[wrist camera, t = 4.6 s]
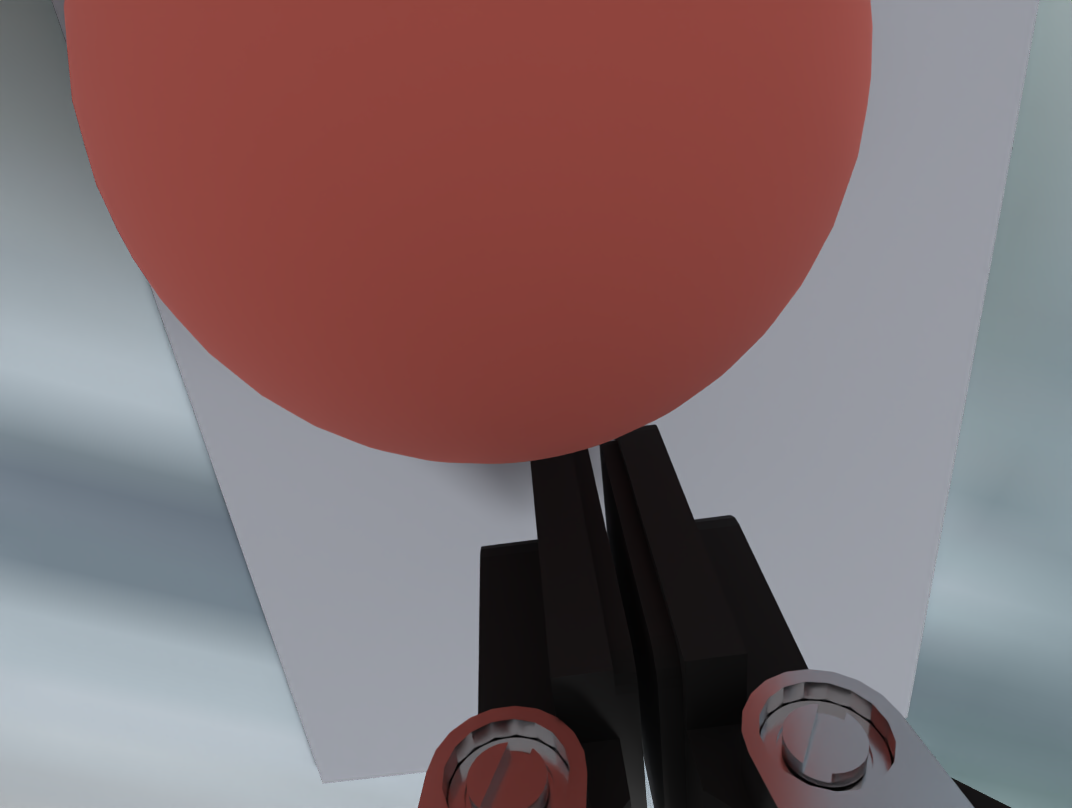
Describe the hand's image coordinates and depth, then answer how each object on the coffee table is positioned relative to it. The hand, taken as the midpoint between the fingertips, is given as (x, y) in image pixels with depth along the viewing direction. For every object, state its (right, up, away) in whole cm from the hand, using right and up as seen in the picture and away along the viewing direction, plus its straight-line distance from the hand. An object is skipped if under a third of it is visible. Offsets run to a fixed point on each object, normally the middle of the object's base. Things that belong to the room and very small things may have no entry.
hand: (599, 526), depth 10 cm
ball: (-1, +4, -4) cm, 6 cm away
